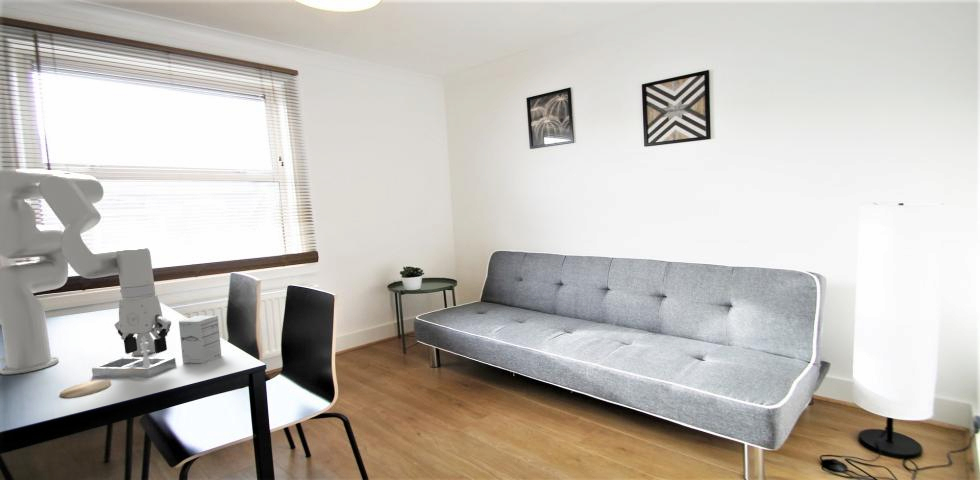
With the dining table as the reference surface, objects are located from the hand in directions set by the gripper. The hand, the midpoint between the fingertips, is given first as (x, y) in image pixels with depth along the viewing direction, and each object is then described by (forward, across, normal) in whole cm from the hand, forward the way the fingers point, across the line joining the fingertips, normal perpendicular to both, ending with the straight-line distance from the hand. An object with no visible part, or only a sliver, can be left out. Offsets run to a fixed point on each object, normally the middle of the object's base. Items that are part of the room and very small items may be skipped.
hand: (146, 351), depth 133 cm
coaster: (+6, -6, -13) cm, 15 cm away
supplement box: (+6, +8, +10) cm, 14 cm away
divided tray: (+6, -4, 0) cm, 7 cm away
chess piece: (+6, 0, 0) cm, 6 cm away
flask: (+6, -18, +16) cm, 24 cm away
